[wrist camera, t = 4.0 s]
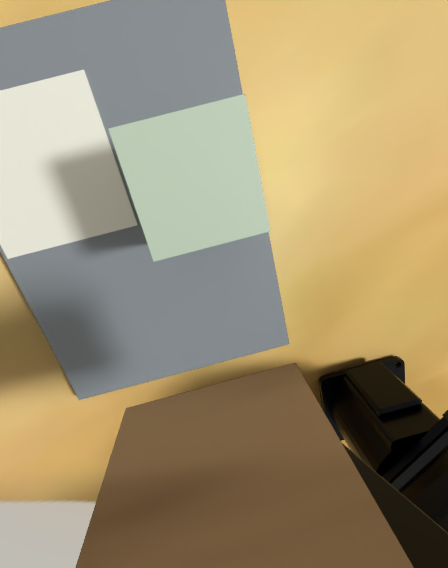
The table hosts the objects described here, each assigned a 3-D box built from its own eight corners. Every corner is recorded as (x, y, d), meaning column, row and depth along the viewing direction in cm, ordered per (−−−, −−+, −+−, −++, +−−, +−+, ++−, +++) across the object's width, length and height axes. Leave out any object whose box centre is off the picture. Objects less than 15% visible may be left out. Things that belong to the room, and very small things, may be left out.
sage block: (248, 219, 16) (270, 231, 12) (165, 240, 16) (153, 261, 11) (228, 124, 15) (245, 93, 10) (136, 148, 14) (108, 128, 10)
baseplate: (286, 339, 20) (289, 344, 19) (82, 394, 20) (78, 401, 19) (218, -18, 13) (220, -29, 12) (-92, 59, 13) (-108, 53, 12)
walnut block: (316, 480, 10) (433, 759, 5) (177, 518, 10) (160, 837, 5) (295, 362, 8) (440, 615, 3) (126, 408, 8) (22, 733, 3)
